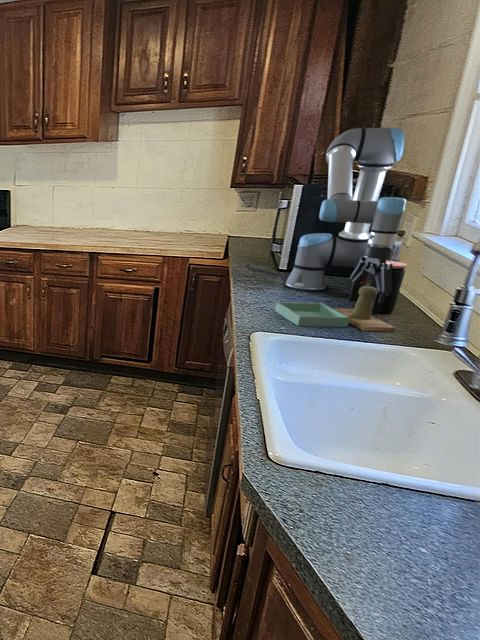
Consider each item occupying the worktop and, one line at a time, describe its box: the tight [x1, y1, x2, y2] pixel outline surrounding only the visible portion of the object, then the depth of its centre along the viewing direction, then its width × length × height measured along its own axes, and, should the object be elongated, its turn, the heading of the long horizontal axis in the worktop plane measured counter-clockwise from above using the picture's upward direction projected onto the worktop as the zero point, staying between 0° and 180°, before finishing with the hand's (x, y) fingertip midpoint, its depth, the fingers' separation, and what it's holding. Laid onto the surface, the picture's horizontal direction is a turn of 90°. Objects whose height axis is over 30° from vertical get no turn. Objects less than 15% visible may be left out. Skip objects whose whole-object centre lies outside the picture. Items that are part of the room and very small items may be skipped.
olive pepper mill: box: [351, 286, 377, 320], centre depth 184 cm, size 6×6×11 cm
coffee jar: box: [366, 261, 408, 315], centre depth 197 cm, size 11×11×18 cm
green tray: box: [274, 301, 350, 328], centre depth 189 cm, size 19×17×3 cm
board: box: [331, 307, 396, 332], centre depth 186 cm, size 22×10×2 cm, turn 177°
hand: (363, 306), depth 185 cm, fingers open, 13 cm apart
